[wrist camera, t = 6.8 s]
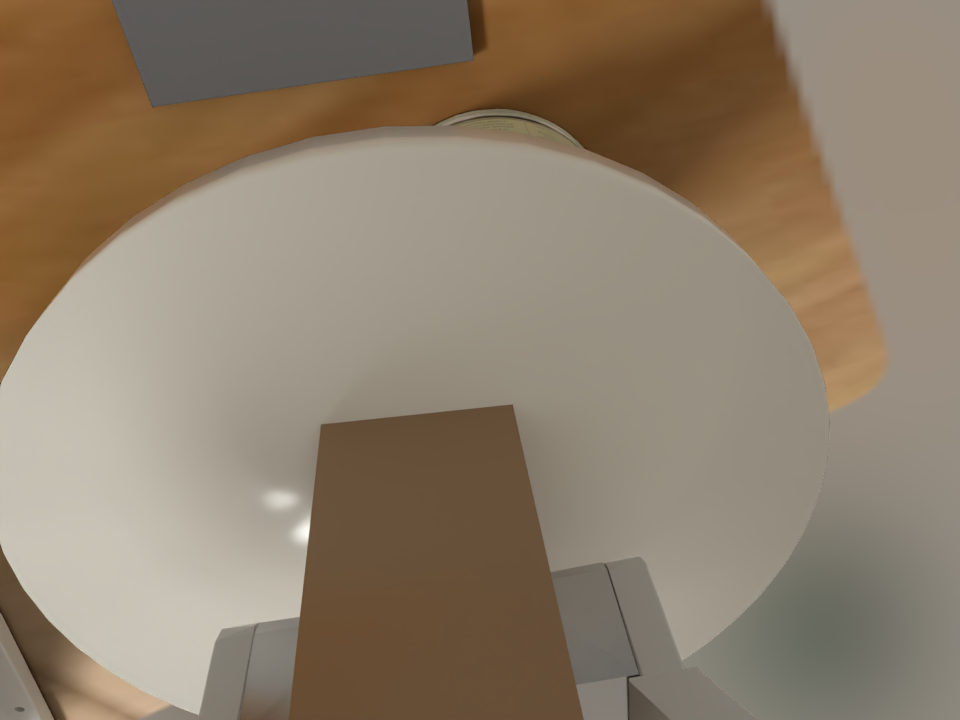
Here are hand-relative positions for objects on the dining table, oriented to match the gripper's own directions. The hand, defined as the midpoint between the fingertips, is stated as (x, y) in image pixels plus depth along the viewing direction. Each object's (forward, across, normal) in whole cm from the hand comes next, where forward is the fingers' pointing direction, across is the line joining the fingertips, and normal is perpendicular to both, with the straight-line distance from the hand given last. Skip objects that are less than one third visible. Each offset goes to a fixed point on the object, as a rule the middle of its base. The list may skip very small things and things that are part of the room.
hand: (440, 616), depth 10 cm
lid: (+2, 0, 0) cm, 2 cm away
